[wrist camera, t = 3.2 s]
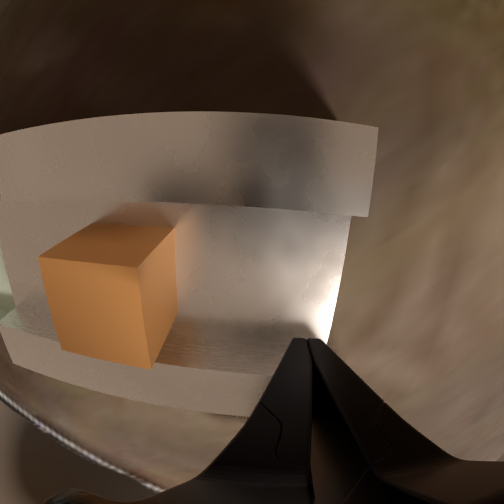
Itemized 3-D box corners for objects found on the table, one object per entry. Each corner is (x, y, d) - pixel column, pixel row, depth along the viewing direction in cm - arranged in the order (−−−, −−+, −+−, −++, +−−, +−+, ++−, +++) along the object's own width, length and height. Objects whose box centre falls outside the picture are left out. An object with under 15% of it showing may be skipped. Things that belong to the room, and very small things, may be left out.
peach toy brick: (178, 312, 14) (151, 369, 10) (102, 302, 14) (61, 349, 10) (174, 227, 12) (137, 267, 9) (91, 223, 13) (37, 256, 9)
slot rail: (309, 356, 18) (318, 418, 13) (51, 322, 19) (13, 363, 14) (342, 129, 13) (378, 127, 9) (24, 134, 14) (-35, 143, 9)
